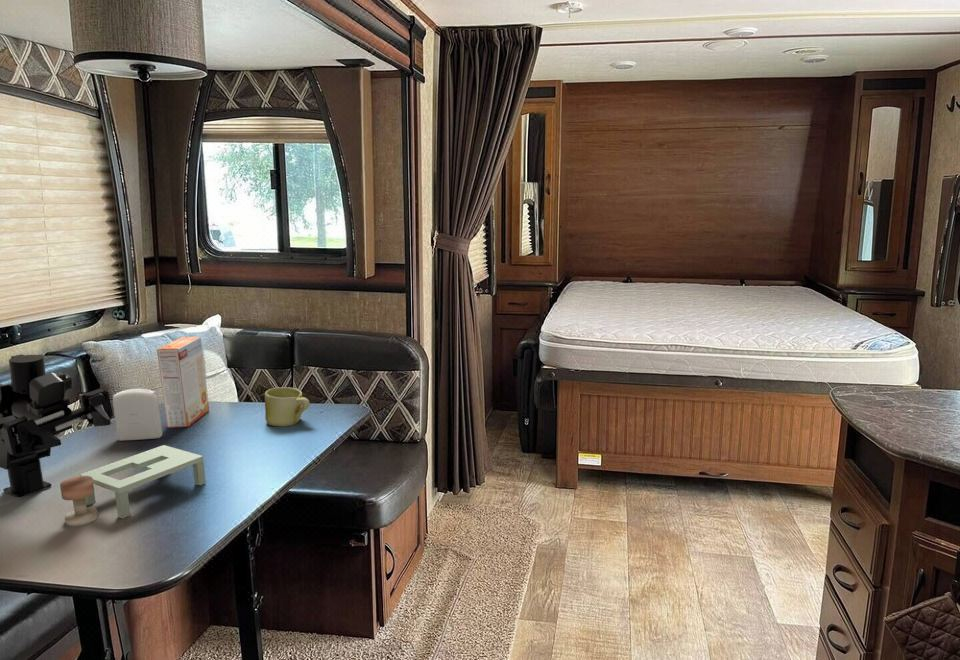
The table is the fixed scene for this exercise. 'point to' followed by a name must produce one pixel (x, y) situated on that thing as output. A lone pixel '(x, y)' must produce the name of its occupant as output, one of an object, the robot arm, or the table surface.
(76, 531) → the table surface
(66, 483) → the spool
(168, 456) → the keyhole board
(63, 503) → the table surface
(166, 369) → the cracker box
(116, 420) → the photo printer
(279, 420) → the mug
